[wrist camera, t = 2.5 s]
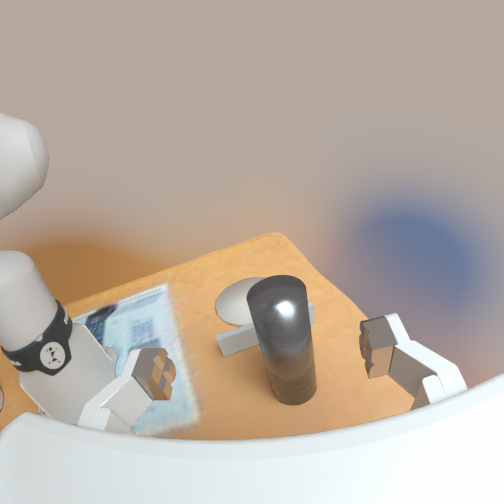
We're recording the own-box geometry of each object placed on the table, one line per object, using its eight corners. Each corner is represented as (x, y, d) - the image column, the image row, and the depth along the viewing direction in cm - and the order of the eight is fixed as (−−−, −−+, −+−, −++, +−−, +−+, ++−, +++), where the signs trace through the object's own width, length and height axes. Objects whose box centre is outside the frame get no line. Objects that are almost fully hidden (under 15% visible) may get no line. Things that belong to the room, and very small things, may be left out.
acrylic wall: (223, 356, 39) (216, 340, 37) (222, 352, 40) (215, 335, 38) (315, 322, 41) (313, 304, 39) (312, 318, 42) (310, 300, 40)
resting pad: (202, 316, 48) (201, 313, 47) (240, 275, 56) (239, 273, 56) (265, 334, 41) (264, 331, 41) (298, 285, 50) (297, 282, 49)
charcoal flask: (266, 397, 32) (235, 306, 25) (285, 366, 35) (264, 271, 28) (305, 410, 29) (290, 318, 22) (322, 376, 33) (314, 279, 25)
